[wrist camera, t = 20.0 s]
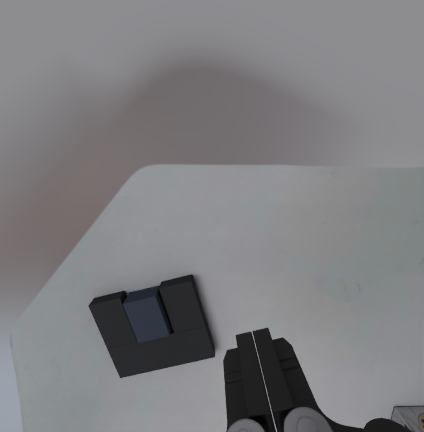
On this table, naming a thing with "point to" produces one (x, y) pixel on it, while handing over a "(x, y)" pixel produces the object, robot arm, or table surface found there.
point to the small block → (147, 314)
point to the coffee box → (410, 417)
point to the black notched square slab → (162, 347)
